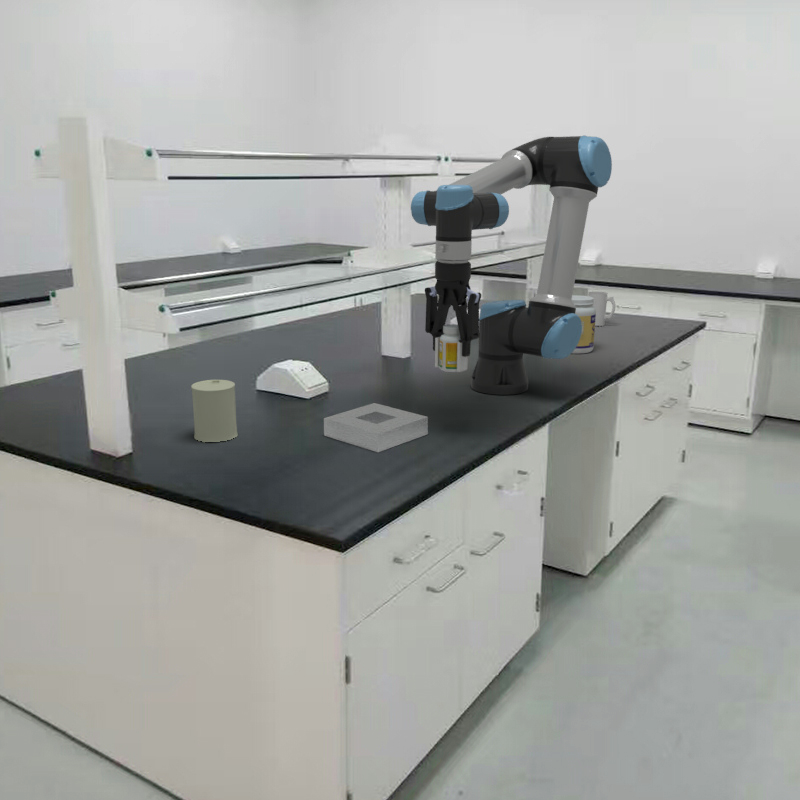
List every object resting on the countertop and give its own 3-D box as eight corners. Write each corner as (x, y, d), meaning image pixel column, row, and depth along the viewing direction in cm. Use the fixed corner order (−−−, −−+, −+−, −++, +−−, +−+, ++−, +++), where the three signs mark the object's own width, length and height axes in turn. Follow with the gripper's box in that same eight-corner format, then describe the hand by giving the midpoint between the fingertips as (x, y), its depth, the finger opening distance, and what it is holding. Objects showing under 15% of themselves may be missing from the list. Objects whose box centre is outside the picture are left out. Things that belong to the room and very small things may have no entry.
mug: (584, 326, 305) (586, 293, 301) (588, 323, 310) (591, 290, 307) (611, 328, 300) (614, 295, 297) (615, 325, 306) (618, 292, 303)
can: (240, 429, 185) (238, 377, 182) (234, 443, 176) (231, 388, 173) (198, 429, 185) (195, 377, 182) (190, 443, 176) (186, 388, 173)
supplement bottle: (434, 369, 181) (434, 326, 179) (450, 365, 185) (450, 322, 182) (453, 373, 178) (454, 329, 175) (469, 369, 182) (469, 325, 179)
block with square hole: (374, 419, 193) (374, 402, 192) (427, 434, 183) (427, 416, 182) (324, 435, 181) (323, 418, 180) (377, 452, 171) (377, 433, 170)
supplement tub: (596, 354, 259) (600, 300, 255) (557, 354, 260) (560, 300, 255) (589, 346, 271) (592, 294, 266) (551, 345, 271) (554, 294, 267)
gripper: (408, 258, 178) (407, 364, 184) (477, 266, 166) (474, 378, 173) (430, 255, 183) (429, 358, 190) (499, 262, 171) (495, 372, 178)
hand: (450, 368), depth 181 cm, fingers closed on supplement bottle, 5 cm apart
